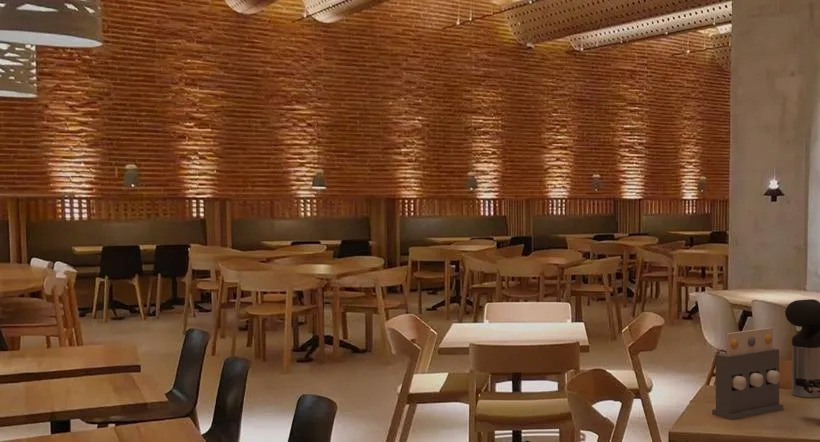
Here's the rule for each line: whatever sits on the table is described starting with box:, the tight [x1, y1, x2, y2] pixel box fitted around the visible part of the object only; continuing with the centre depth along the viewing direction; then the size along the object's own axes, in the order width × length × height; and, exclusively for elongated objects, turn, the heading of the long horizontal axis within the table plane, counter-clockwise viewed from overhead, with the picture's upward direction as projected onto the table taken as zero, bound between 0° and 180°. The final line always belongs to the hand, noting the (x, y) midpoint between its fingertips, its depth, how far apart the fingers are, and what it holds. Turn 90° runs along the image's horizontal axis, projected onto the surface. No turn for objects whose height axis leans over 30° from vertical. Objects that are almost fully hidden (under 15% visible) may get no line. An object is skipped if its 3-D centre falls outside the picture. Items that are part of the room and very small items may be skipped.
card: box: [726, 327, 774, 356], centre depth 275 cm, size 21×1×7 cm, turn 119°
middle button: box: [749, 372, 764, 387], centre depth 274 cm, size 4×3×4 cm
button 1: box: [732, 375, 746, 390], centre depth 270 cm, size 4×3×4 cm
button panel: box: [711, 347, 784, 421], centre depth 277 cm, size 24×8×20 cm, turn 119°
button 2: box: [766, 369, 781, 384], centre depth 278 cm, size 4×3×4 cm
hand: (797, 381), depth 270 cm, fingers closed
